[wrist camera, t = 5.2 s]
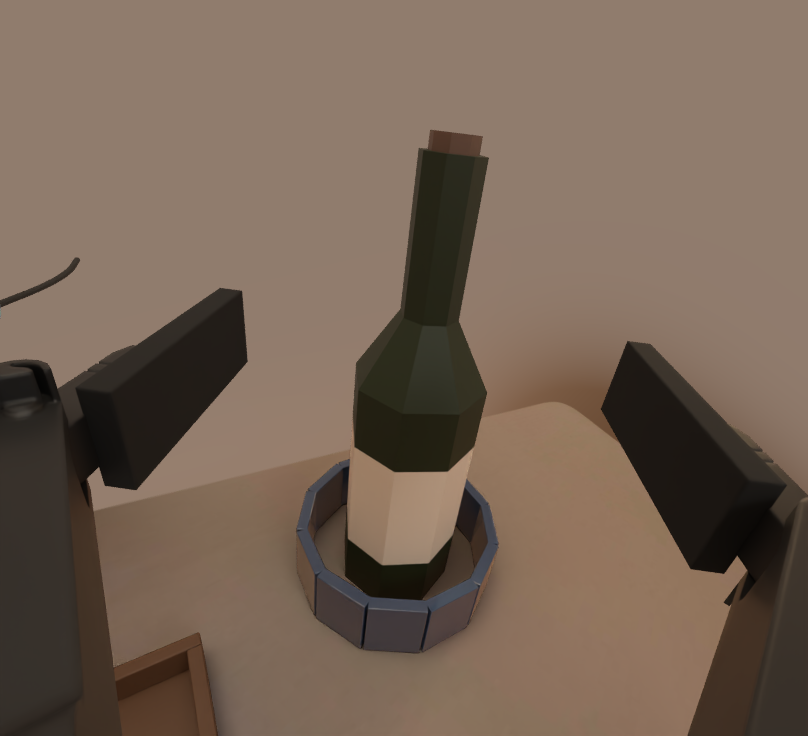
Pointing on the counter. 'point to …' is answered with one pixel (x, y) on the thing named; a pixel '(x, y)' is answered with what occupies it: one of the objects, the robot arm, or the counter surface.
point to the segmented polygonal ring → (386, 617)
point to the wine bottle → (418, 390)
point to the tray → (166, 692)
